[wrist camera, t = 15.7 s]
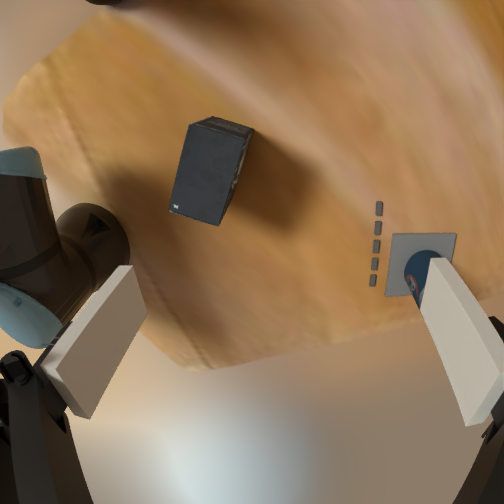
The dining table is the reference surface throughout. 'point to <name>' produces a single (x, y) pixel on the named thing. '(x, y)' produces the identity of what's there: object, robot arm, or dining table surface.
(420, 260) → the soda can
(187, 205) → the box
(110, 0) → the cola bottle
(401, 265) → the slate pad
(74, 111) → the dining table surface
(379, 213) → the perforation line
